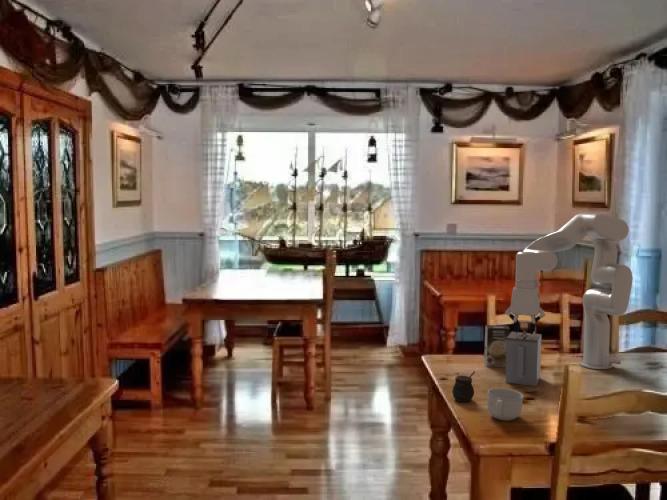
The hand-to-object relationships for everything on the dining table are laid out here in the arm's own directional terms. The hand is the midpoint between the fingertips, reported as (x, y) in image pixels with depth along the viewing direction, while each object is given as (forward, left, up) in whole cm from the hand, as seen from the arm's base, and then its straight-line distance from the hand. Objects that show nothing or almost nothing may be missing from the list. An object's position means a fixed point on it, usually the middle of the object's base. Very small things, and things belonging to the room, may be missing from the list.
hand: (524, 332), depth 233 cm
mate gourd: (+15, +32, -19) cm, 40 cm away
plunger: (0, 0, -13) cm, 13 cm away
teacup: (0, +44, -19) cm, 48 cm away
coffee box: (+13, -17, -19) cm, 28 cm away
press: (0, +2, -18) cm, 18 cm away
